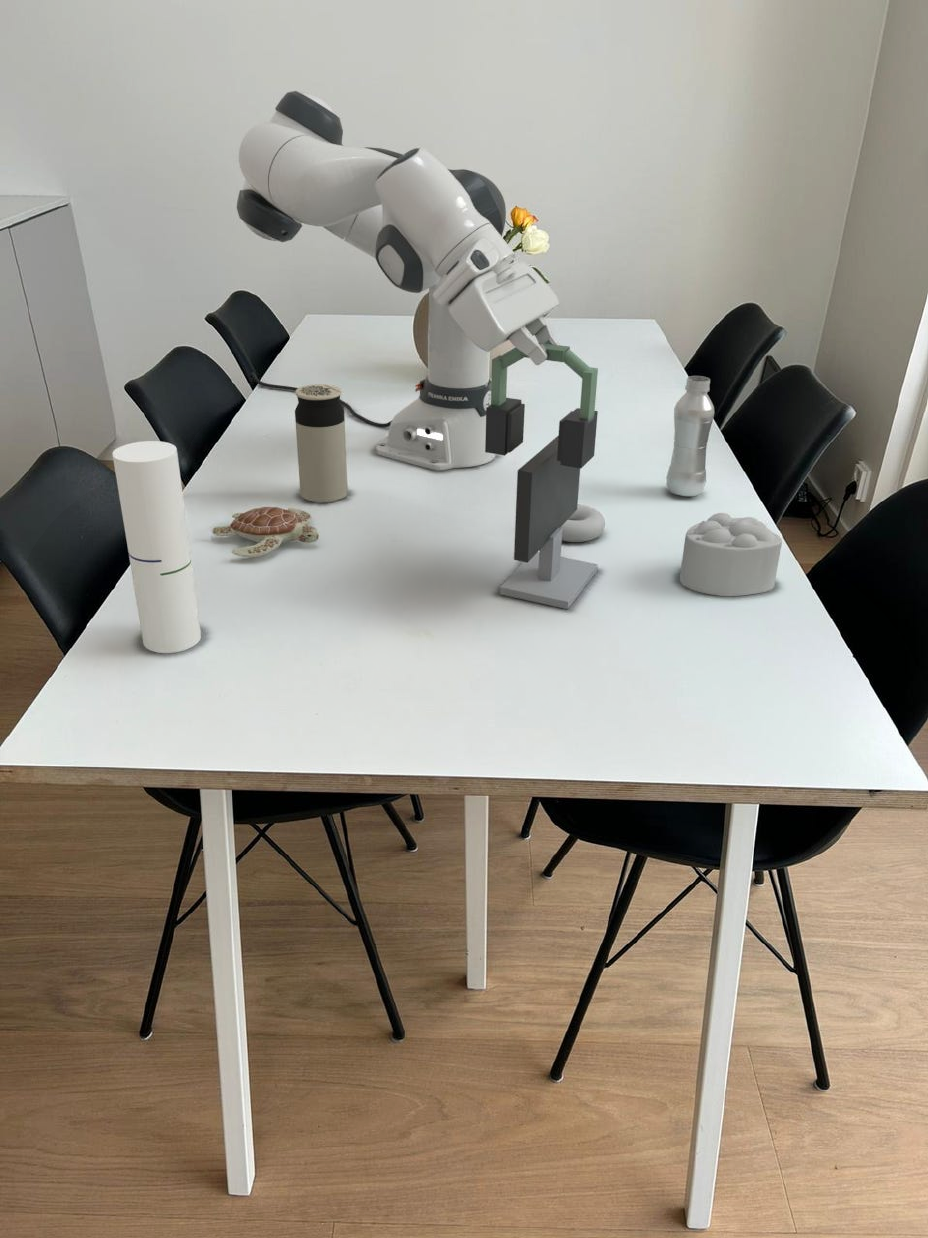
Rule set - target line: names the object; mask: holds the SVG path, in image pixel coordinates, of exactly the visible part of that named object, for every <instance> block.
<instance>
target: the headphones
mask: <svg viewBox="0 0 928 1238" xmlns="http://www.w3.org/2000/svg"><path fill="white" fill-rule="evenodd" d="M537 343H538V344H539V345H541V344H543V345H544V347H545V348H546V350H547V351H548V352H549V354H550V356H549V357H548V358H547V359H546V360H545V361H548V362H549V361H551V362H556V363H564V364H565V365H566V366H567V367H568V368H570V369H571V370H572V371H573V372H574V373H575V374H576V375H578V377H580V378H581V390H580V391H581V392H580V404H579V407H576V408H575V409H574V410H571V411H570V412H569V413H568V414H566V415H565V416H564V417H562V418H561V419H560V420H559V423H558V435H559V436H558V435H557V436H558V452H557V461H561V464H560V465H563V466H569V467H575V468H580V470H581V469H583V468H584V466H586V464H588V462H590V461H591V460H592V458H594V456H595V450H596V438H597V427H598V413H599V411H598V410H596V400H597V399H596V398H597V385H598V375H599V374H598V372H599V369H598V367H592V366H589V364H588V363H586V362H585V361H584V360H583V359H581V358H580V357H579V356H578V355H577V354H575V352H573V351H572V350H571V347H570V346H569V345H560V344H559V345H553V344H545V343H539V342H537ZM525 358H527V359H530V357H529V356H528V355H526V354H524V353H523V352H521V351H520V350H518V349H517V348H516V347H514V348H512V349H511V350H509V351H507V352H505V353H503V354H501V355H500V354H499V355H497V356H495V357H494V358H492V359H491V379H490V380H491V405H489V406H488V407H487V408H486V439H485V452H486V453H492V454H496V455H498V456H506V455H507V454H509V453H512V452H513V451H514V450H516V448H518V447H519V446H520V445H521V444H523V443H524V431H525V412H526V411H525V409H526V404H525V403H522V399H519V398H511V397H507V388H508V387H507V385H508V384H507V383H508V367H510V366H512V365H514V364H515V363H517V362H519V361H521V360H523V359H525Z"/></svg>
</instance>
